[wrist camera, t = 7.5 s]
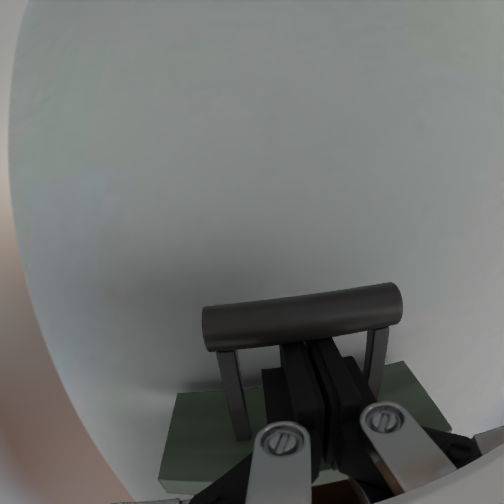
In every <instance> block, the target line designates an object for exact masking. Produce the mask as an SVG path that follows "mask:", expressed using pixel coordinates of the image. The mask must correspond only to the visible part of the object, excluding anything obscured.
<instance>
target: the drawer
mask: <svg viewBox="0 0 504 504" xmlns="http://www.w3.org/2000/svg"><path fill="white" fill-rule="evenodd" d="M402 313H403V303H402V297H401V294H400V291H399V289H398V287H397V286H396V285H395V284H394V283H392V282H388V283H382V284H376V285H370V286H364V287H357V288H351V289H344V290H337V291H331V292H324V293H316V294H309V295H302V296H294V297H286V298H278V299H270V300H261V301H253V302H244V303H234V304H225V305H214V306H205V307H204V308H203V310H202V332H203V338H204V343H205V346H206V349H207V350H208V351H209V352H215V351H217V352H216V355H217V360H218V364H219V369H220V374H221V378H222V383H223V387H224V391H213V392H190V393H177V398H176V402H175V406H174V410H173V414H172V418H171V423H170V427H169V431H168V436H167V440H166V445H165V449H164V454H163V458H162V463H161V467H160V472H159V477H158V481H159V482H160V483H161V485H162V486H163V488H164V489H165V490H166V492H167V493H173V494H191V495H194V496H195V495H196V494H198V493H199V492H201V491H202V490H204V489H205V488H206V487H208V486H209V485H211V484H212V483H213V482H215V481H216V480H217V479H219V478H220V477H221V476H223V475H224V474H225V473H227V472H228V471H229V470H230V469H232V468H233V467H234V466H236V465H237V464H238V463H239V462H241V461H242V460H243V459H244V458H245V457H247V456H248V455H249V454H250V453H252V452H253V449H254V443H255V438H256V436H257V433H258V432H259V431H260V430H261V429H262V428H263V427H265V426H266V425H267V418H266V408H265V399H264V389H263V387H261V388H251V389H243V384H242V378H241V372H240V366H239V360H238V354H237V350H238V349H248V348H258V347H266V346H275V345H282V344H290V343H297V342H304V341H311V340H317V339H323V338H329V337H335V336H341V335H346V334H352V333H357V332H362V331H367V330H368V332H367V343H366V353H365V362H364V370H363V371H361V372H362V374H363V376H364V378H365V379H366V381H367V383H368V385H369V387H370V389H371V390H372V392H373V394H374V396H375V398H376V400H377V402H380V401H390V402H395V403H397V404H399V405H401V406H402V407H404V408H405V409H406V410H407V411H408V412H409V414H410V415H411V416H412V417H413V418H414V419H415V420H416V422H417V423H418V424H419V425H420V426H424V427H428V428H432V429H436V430H440V431H444V432H448V433H451V431H452V427H451V426H450V425H449V423H448V422H447V420H446V419H445V417H444V416H443V415H442V413H441V412H440V410H439V409H438V407H437V406H436V405H435V403H434V402H433V400H432V399H431V398H430V396H429V395H428V394H427V392H426V391H425V389H424V388H423V387H422V385H421V384H420V383H419V381H418V380H417V379H416V377H415V376H414V374H413V373H412V372H411V370H410V369H409V368H408V366H407V365H406V364H405V362H404V361H400V362H396V363H392V364H388V365H385V366H384V364H385V357H386V351H387V343H388V336H389V326H391V325H396V324H398V323H399V322H400V320H401V318H402ZM311 504H360V502H359V500H358V498H357V496H356V494H355V493H354V491H353V489H352V487H351V485H350V483H349V481H348V478H347V475H345V474H342V473H340V472H339V470H336V471H333V470H332V467H331V463H329V464H325V462H324V459H323V455H322V458H321V465H320V471H319V477H318V478H317V479H316V480H315V481H314V482H313V484H312V485H311Z"/></svg>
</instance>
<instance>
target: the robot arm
mask: <svg viewBox="0 0 504 504" xmlns="http://www.w3.org/2000/svg"><path fill="white" fill-rule="evenodd" d="M279 348H280V361H281V367H279V368H271V369H263V370H262V380H263V389H264V399H265V408H266V418H267V425H266V426H265V427H263V428H262V429H261V430H260V431H259V432H258V433H257V436H256V438H255V443H254V449H253V452H252V453H250V454H249V455H248V456H247V457H245V458H244V459H243V460H242V461H241V462H239V463H238V464H237V465H236V466H234V467H233V468H232V469H230V470H229V471H228V472H227V473H225V474H224V475H223V476H221V477H220V478H219V479H217V480H216V481H215V482H213V483H212V484H211V485H209V486H208V487H206V488H205V489H204V490H202V491H201V492H199V493H198V494H196V495H195V496H194V497H193V498H192V499H189V500H182V501H180V499H179V498H176V499H168V500H157V501H144V502H118V503H112V504H311V485H312V484H313V482H314V481H315V480H316V479H317V478H318V477H319V471H320V465H321V458H322V455H323V459H324V462H325V464H329V463H331V467H332V470H333V471H336V470H339V472H340V473H342V474H345V475H347V478H348V481H349V483H350V485H351V487H352V489H353V491H354V493H355V494H356V496H357V498H358V500H359V502H360V504H504V426H501V427H499V428H496V429H492V430H489V431H486V432H483V433H479V434H476V435H474V436H473V438H472V439H470V438H468V437H465V436H461V435H457V434H452V433H448V432H444V431H440V430H436V429H432V428H428V427H424V426H420V425H419V424H418V423H417V422H416V420H415V419H414V418H413V417H412V416H411V415H410V414H409V412H408V411H407V410H406V409H405V408H404V407H402V406H401V405H399V404H397V403H395V402H390V401H380V402H377V400H376V398H375V396H374V394H373V392H372V390H371V389H370V387H369V385H368V383H367V381H366V379H365V378H364V376H363V374H362V372H361V370H360V368H359V367H358V365H357V363H356V361H355V359H354V358H353V357H352V356H347V357H341V355H340V353H339V351H338V349H337V347H336V345H335V343H334V341H333V339H332V337H329V338H323V339H317V340H311V341H304V342H297V343H290V344H282V345H279Z"/></svg>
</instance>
